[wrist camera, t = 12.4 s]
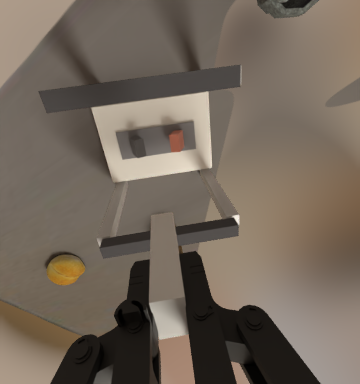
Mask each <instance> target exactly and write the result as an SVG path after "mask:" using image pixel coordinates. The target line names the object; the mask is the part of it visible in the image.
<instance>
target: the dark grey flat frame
mask: <svg viewBox="0 0 360 384" xmlns="http://www.w3.org/2000/svg"><path fill="white" fill-rule="evenodd" d="M240 78H241V65H234V66H227V67H219V68H212V69H204V70H196V71H189V72H181V73H174V74H166V75H159V76H151V77H143V78H136V79H128V80H121V81H113V82H105V83H98V84H90V85H83V86H75V87H68V88H60V89H52V90H45V91H39V94H40V97H41V99H42V102H43V104H44V107H45V110H46V112H47V113H52V112H59V111H66V110H74V109H81V108H88V107H96V106H103V105H110V104H118V103H125V102H132V101H140V100H147V99H154V98H161V97H169V96H176V95H183V94H191V93H198V92H205V91H213V90H220V89H227V88H234V87H240ZM238 226H239V225H238V223H237V222H236V220H235V218H234V217H233V218H227V219H221V220H215V221H209V222H202V223H196V224H190V225H184V226H178V227H175V230H176V236H177V242H178V246H181V245H187V244H193V243H199V242H205V241H211V240H217V239H223V238H229V237H235V236H238V228H239V227H238ZM150 238H151V231H148V232H141V233H135V234H129V235H123V236H117V237H111V238H105V239H102V242H101V245H100V251H101V254H102V256H103V259H104V258H110V257H116V256H122V255H128V254H134V253H140V252H146V251H150Z"/></svg>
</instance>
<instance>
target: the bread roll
mask: <svg viewBox="0 0 360 384" xmlns="http://www.w3.org/2000/svg"><path fill="white" fill-rule="evenodd" d="M84 271H85V266H84V264H83V262H82V261H81V259H80V258H78V257H76V256H73V255H59V256H57V257H55V258H54V259H52V260H51V262H50V263H49V265H48V267H47V276H48V278H49V279H50V280H51V281H52V282H54V283H56V284H58V285H68V284H72V283H74V282H75V281H76V280H77V279H78V277H79V276H80V275H82V274H83V273H84Z"/></svg>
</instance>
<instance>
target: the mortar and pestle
mask: <svg viewBox="0 0 360 384" xmlns="http://www.w3.org/2000/svg"><path fill="white" fill-rule="evenodd" d="M318 1H319V0H257V2H258V6H259V7H260V8H261V9H262V10H263V11H264V12H265V13H266V14H267V13H270V14H271V15H272V16H273V17H274V18H287V17H297V16H300V15H302V14H304V13H305V12H306V11H307V10H309V9H310V8H311V7H312V6H313V5H314V4H315V3H316V2H318Z"/></svg>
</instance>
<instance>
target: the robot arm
mask: <svg viewBox="0 0 360 384" xmlns="http://www.w3.org/2000/svg"><path fill="white" fill-rule="evenodd" d="M114 317H115V319H116V321H117V324H118V326H117V327H115V328H114V329H113V330H111V331H109V332H108V333H106V334H104V335H102V336H100V337H98V338H97V337H96V336H95V335H92V334H90V335H84V336H82V337H81V338H79V339H77V340H76V341H75V342H74V343H73V344H72V345H71V347H70V348H69V349H68V351H67V353H66V355H65V357H64V359H63V361H62V362H61V364H60V366H59V368H58V370H57V372H56V374H55V376H54V378H53V380H52V382H51V384H161V364H160V363H161V361H160V350H159V346H158V336H159V339H165V338H171V337H177V336H182V335H187V334H189V339H190V347H191V355H192V361H193V370H194V377H195V384H237V383H236V380H235V375H234V372H233V368H232V365H231V361H233V362H237V363H239V364H240V365H241V367H242V369H243V371H244V373H245V375H246V377H247V379H248V381H249V383H250V384H320V382H319V381H318V380H317V378H316V377H315V376H314V375H313V373H312V372H311V371H310V369H309V368H308V367H307V365H306V364H305V363H304V361H303V360H302V359H301V358H300V356H299V355H298V354H297V353H296V351H295V350H294V348H293V347H292V346H291V344H290V343H289V342H288V341H287V339H286V338H285V337H284V335H283V334H282V333H281V331H280V330H279V329H278V328H277V326H276V325H275V324H274V322H273V321H272V320H271V318H270V317H269V316H268V314H267V313H265V311H264V310H262V309H261V308H259V307H257V306H252V305H247V306H243V307H242V308H241V309H239V311H236V310H229V309H225V308H222V307H220V306H219V305H218V304H216V303H215V302H214V300H213V298H212V296H211V293H210V289H209V285H208V281H207V278H206V274H205V270H204V266H203V263H202V259H201V257H200V255H199V254H198V253H197V252H196V251H193V252H187V253H181V254H179V249H178V242H177V236H176V230H175V223H174V217H173V212H168V213H162V214H156V215H151V238H150V259H149V260H143V261H137V262H135V263H134V265H133V266H132V268H131V271H130V279H129V287H128V294H127V300H125V301H124V302H122V303H121V304H120V305H119V306H118V307H117V309H116V311H115V314H114Z"/></svg>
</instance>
